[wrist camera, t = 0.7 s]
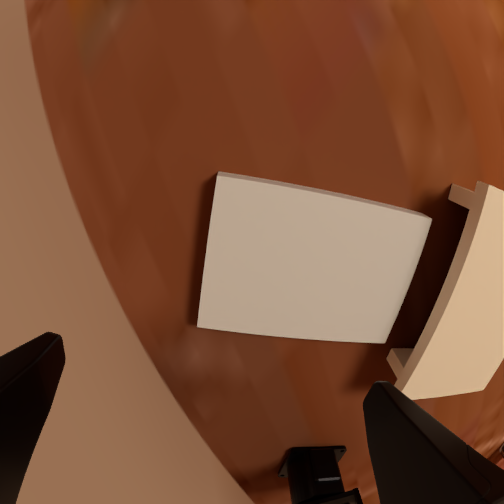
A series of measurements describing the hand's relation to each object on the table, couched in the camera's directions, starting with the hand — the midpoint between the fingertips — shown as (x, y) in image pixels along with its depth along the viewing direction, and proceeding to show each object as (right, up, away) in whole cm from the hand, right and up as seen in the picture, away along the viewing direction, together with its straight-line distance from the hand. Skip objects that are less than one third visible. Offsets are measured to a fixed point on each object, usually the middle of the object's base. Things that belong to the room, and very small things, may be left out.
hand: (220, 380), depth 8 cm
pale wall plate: (+5, +3, +14) cm, 15 cm away
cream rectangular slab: (+19, +1, +15) cm, 24 cm away
